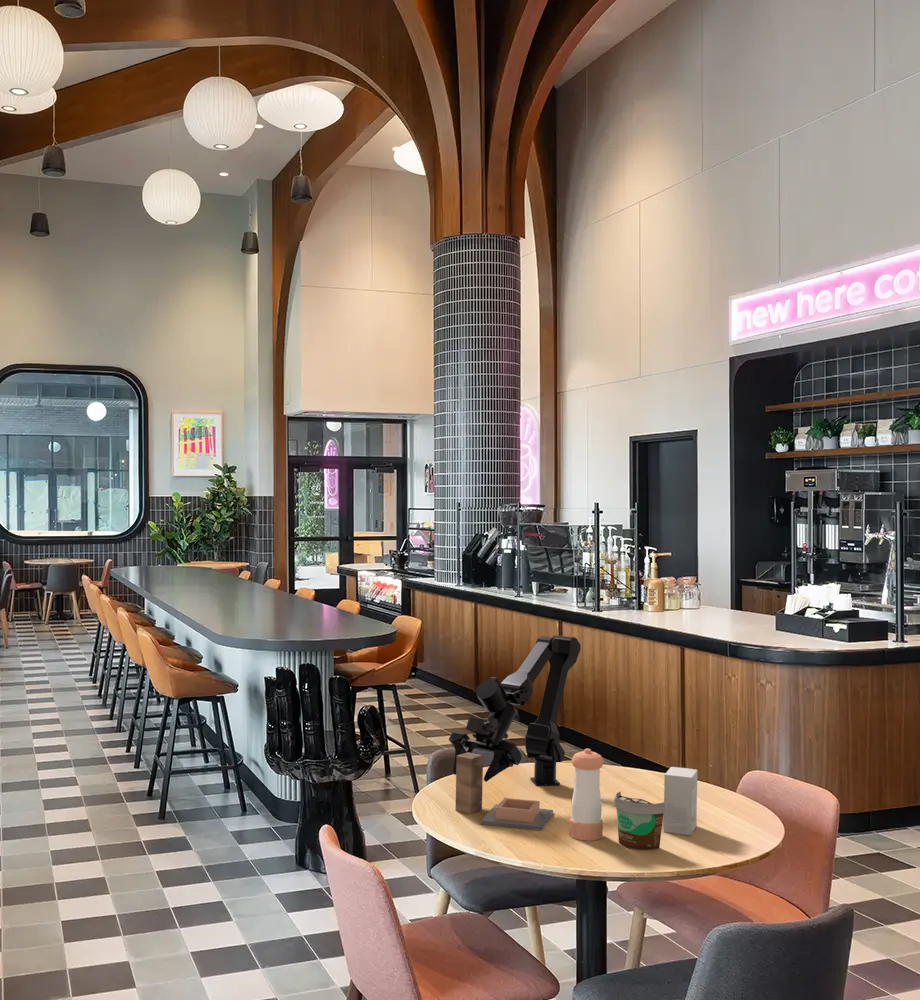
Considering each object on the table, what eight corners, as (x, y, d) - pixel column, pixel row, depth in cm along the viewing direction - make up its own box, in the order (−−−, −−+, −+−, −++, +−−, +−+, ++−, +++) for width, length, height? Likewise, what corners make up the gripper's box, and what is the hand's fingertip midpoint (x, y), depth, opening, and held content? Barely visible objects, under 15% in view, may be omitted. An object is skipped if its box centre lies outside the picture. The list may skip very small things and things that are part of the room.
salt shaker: (596, 829, 236) (598, 744, 236) (606, 840, 229) (608, 752, 229) (565, 830, 235) (567, 745, 235) (574, 841, 228) (576, 753, 228)
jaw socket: (495, 807, 252) (496, 793, 252) (553, 813, 248) (553, 799, 248) (480, 824, 239) (481, 809, 239) (541, 830, 235) (541, 815, 235)
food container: (601, 842, 228) (602, 796, 228) (617, 836, 232) (618, 790, 232) (649, 856, 219) (650, 808, 219) (665, 849, 224) (666, 802, 224)
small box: (669, 822, 243) (670, 766, 243) (697, 825, 241) (698, 769, 241) (662, 832, 236) (663, 774, 236) (691, 836, 234) (692, 777, 234)
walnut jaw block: (466, 806, 253) (468, 752, 253) (481, 810, 250) (483, 755, 250) (455, 810, 249) (456, 755, 249) (470, 814, 246) (471, 758, 246)
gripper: (454, 698, 260) (424, 750, 251) (516, 709, 248) (487, 763, 239) (472, 726, 266) (444, 777, 257) (533, 737, 254) (506, 791, 245)
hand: (469, 777), depth 249 cm, fingers open, 9 cm apart
